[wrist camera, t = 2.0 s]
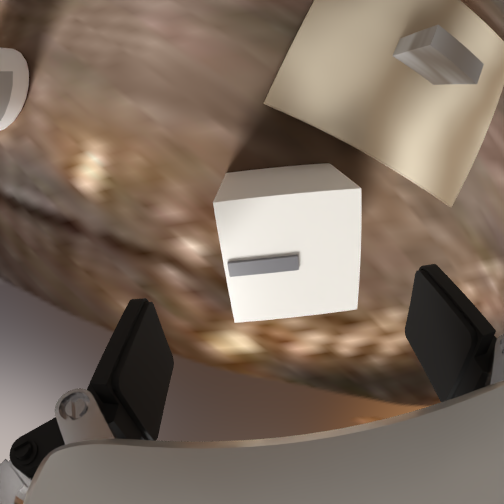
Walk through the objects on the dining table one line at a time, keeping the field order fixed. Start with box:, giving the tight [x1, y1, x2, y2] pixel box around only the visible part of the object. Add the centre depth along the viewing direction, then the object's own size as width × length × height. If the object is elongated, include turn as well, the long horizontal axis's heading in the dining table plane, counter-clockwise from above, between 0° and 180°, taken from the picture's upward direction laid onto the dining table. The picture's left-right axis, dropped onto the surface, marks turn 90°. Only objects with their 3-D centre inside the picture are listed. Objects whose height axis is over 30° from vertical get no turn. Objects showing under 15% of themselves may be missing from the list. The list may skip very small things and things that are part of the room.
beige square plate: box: [263, 0, 504, 207], centre depth 12 cm, size 14×14×6 cm
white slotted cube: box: [213, 163, 361, 323], centre depth 17 cm, size 6×6×6 cm
